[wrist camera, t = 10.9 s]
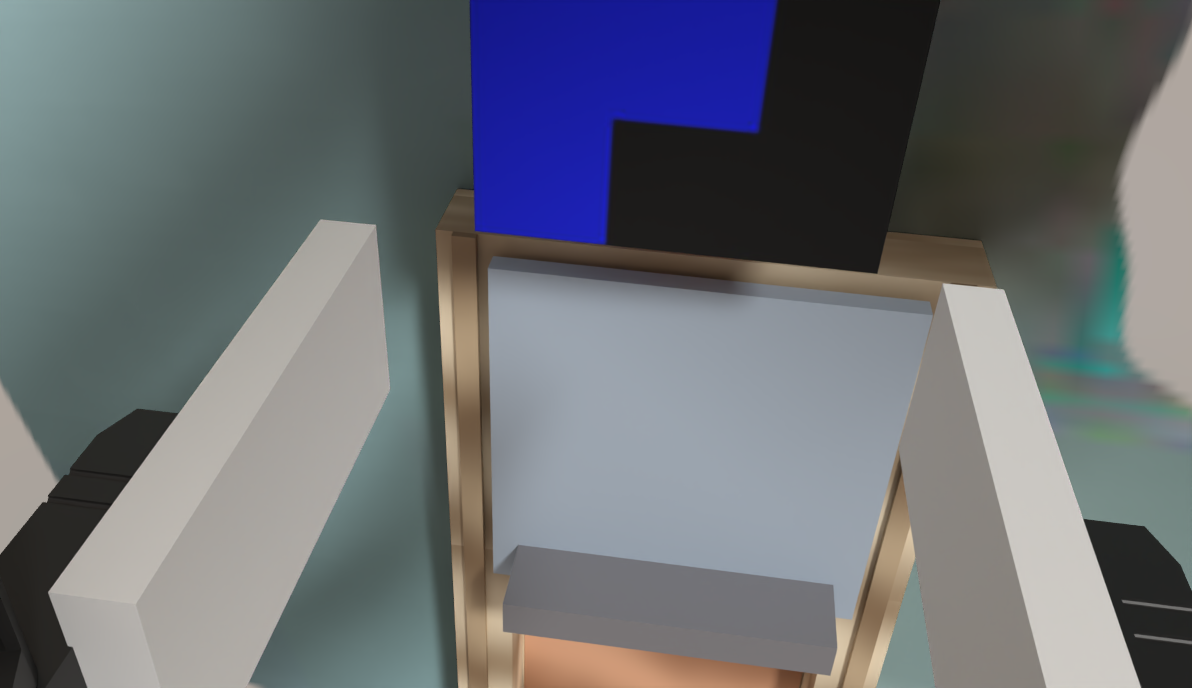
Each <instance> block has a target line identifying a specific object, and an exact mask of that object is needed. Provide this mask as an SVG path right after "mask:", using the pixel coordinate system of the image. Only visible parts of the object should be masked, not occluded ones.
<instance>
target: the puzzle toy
mask: <svg viewBox="0 0 1192 688" xmlns="http://www.w3.org/2000/svg"><path fill="white" fill-rule="evenodd" d="M939 4H940V0H470V40H471V85H472V130H473V175H474V219H475V231H478V232H488V233H497V234H506V235H516V236H525V237H535V238H544V239H554V240H563V241H572V242H582V243H591V244H601V245H610V246H620V247H629V248H638V249H648V250H657V251H667V252H676V253H685V254H695V255H704V256H714V257H723V258H733V259H742V260H751V261H761V262H770V263H780V264H789V265H799V266H808V267H817V268H827V269H836V270H846V271H855V272H865V273H874V274H878V269H879V265H880V261H881V256H882V252H883V248H884V243H885V239H886V235H887V230H888V226H889V222H890V217H891V213H892V209H893V204H894V200H895V195H896V191H897V187H898V182H899V178H900V174H901V169H902V165H903V161H904V156H905V152H906V148H907V143H908V139H909V135H910V130H911V126H912V121H913V117H914V113H915V108H916V104H917V100H918V95H919V91H920V87H921V82H922V78H923V74H924V69H925V65H926V61H927V56H928V52H929V47H930V43H931V39H932V34H933V30H934V26H935V21H936V17H937V13H938V8H939Z"/></svg>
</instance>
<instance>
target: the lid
mask: <svg viewBox="0 0 1192 688" xmlns="http://www.w3.org/2000/svg"><path fill="white" fill-rule="evenodd" d="M488 305H489V359H490V413H491V466H492V520H493V573H497V574H504V575H510V578H509V582H508V586H507V590H506V593H505V597H504V601H503V632H508V633H516V634H523V635H531V636H538V637H546V638H553V639H560V640H568V641H575V642H583V643H590V644H598V645H605V646H612V647H620V648H627V649H635V650H642V651H650V652H657V653H664V654H672V655H679V656H687V657H694V658H702V659H709V660H716V661H724V662H731V663H739V664H746V665H754V666H761V667H769V668H776V669H783V670H791V671H798V672H806V673H813V674H821V675H828V676H830V675H831V671H832V668H833V664H834V660H835V656H836V652H837V634H836V618H843V619H850V620H852V617H853V614H854V610H855V606H856V602H857V599H858V595H859V591H860V587H861V584H862V580H863V576H864V572H865V569H866V565H867V561H868V557H869V554H870V550H871V546H872V542H873V539H874V535H875V531H876V527H877V524H878V520H879V516H880V512H881V509H882V505H883V501H884V497H885V494H886V490H887V486H888V482H889V479H890V475H891V471H892V467H893V464H894V460H895V456H896V452H897V449H898V445H899V441H900V437H901V434H902V430H903V426H904V422H905V419H906V415H907V411H908V407H909V404H910V400H911V396H912V393H913V389H914V385H915V381H916V378H917V374H918V370H919V366H920V363H921V359H922V355H923V351H924V348H925V344H926V340H927V336H928V333H929V329H930V325H931V321H932V318H933V313H932V308H931V304H930V302H929V301H919V300H910V299H900V298H891V297H881V296H872V295H862V294H852V293H843V292H833V291H824V290H814V289H805V288H795V287H785V286H776V285H766V284H757V283H747V282H738V281H728V280H718V279H709V278H699V277H690V276H680V275H671V274H661V273H652V272H642V271H632V270H623V269H613V268H604V267H594V266H585V265H575V264H565V263H556V262H546V261H537V260H527V259H518V258H508V257H498V256H493V257H492V260H491V262H490V264H489V267H488Z"/></svg>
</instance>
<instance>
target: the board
mask: <svg viewBox="0 0 1192 688" xmlns="http://www.w3.org/2000/svg"><path fill="white" fill-rule="evenodd" d="M435 230H436V250H437V270H438V290H439V310H440V330H441V350H442V370H443V390H444V410H445V430H446V450H447V470H448V490H449V510H450V530H451V550H452V570H453V590H454V610H455V630H456V650H457V670H458V688H876V685H877V682H878V679H879V676H880V672H881V669H882V666H883V662H884V659H885V656H886V652H887V649H888V646H889V642H890V639H891V636H892V633H893V629H894V626H895V623H896V619H897V616H898V613H899V609H900V606H901V603H902V599H903V596H904V593H905V590H906V586H907V583H908V580H909V576H910V573H911V570H912V566H913V563H914V560H915V551H914V545H913V538H912V532H911V525H910V519H909V512H908V506H907V499H906V493H905V486H904V480H903V473H902V467H901V460H900V454H899V445H900V441H901V437H902V434H903V430H904V426H905V422H906V419H907V415H908V411H909V407H910V404H911V400H912V396H913V393H912V396H911V400H910V404H909V407H908V411H907V415H906V419H905V422H904V426H903V430H902V434H901V437H900V441H899V445H898V449H897V452H896V456H895V460H894V464H893V467H892V471H891V475H890V479H889V482H888V486H887V490H886V494H885V497H884V501H883V505H882V509H881V512H880V516H879V520H878V524H877V527H876V531H875V535H874V539H873V542H872V546H871V550H870V554H869V557H868V561H867V565H866V569H865V572H864V576H863V580H862V584H861V587H860V591H859V595H858V599H857V602H856V606H855V610H854V614H853V617H852V620H850V619H843V618H836V634H837V652H836V656H835V660H834V664H833V668H832V671H831V675H830V676H828V675H821V674H813V673H806V672H798V671H791V670H783V669H776V668H769V667H761V666H754V665H746V664H739V663H731V662H724V661H716V660H709V659H702V658H694V657H687V656H679V655H672V654H664V653H657V652H650V651H642V650H635V649H627V648H620V647H612V646H605V645H598V644H590V643H583V642H575V641H568V640H560V639H553V638H546V637H538V636H531V635H523V634H516V633H508V632H503V601H504V597H505V593H506V590H507V586H508V582H509V578H510V575H504V574H497V573H493V520H492V466H491V413H490V359H489V305H488V267H489V264H490V262H491V260H492V257H493V256H498V257H508V258H518V259H527V260H537V261H546V262H556V263H565V264H575V265H585V266H594V267H604V268H613V269H623V270H632V271H642V272H652V273H661V274H671V275H680V276H690V277H699V278H709V279H718V280H728V281H738V282H747V283H757V284H766V285H776V286H785V287H795V288H805V289H814V290H824V291H833V292H843V293H852V294H862V295H872V296H881V297H891V298H900V299H910V300H919V301H929V302H930V304H931V308H932V313H933V318H934V314H935V310H936V306H937V303H938V299H939V295H940V291H941V288H942V284H943V283H945V284H955V285H964V286H974V287H984V288H993V289H997V286H996V283H995V280H994V277H993V274H992V271H991V268H990V265H989V262H988V259H987V256H986V253H985V250H984V247H983V244H982V241H977V240H967V239H957V238H947V237H937V236H927V235H917V234H907V233H897V232H887V235H886V239H885V243H884V248H883V252H882V256H881V261H880V265H879V269H878V274H874V273H865V272H855V271H846V270H836V269H827V268H817V267H808V266H799V265H789V264H780V263H770V262H761V261H751V260H742V259H733V258H723V257H714V256H704V255H695V254H685V253H676V252H667V251H657V250H648V249H638V248H629V247H620V246H610V245H601V244H591V243H582V242H572V241H563V240H554V239H544V238H535V237H525V236H516V235H506V234H497V233H488V232H478V231H475V219H474V190H465V189H457V190H456V192H455V194H454V196H453V198H452V199H451V201H450V203H449V205H448V207H447V209H446V211H445V213H444V214H443V216H442V218H441V220H440V222H439V224H438V226H437V228H436V229H435ZM933 318H932V321H933ZM932 321H931V325H932ZM931 325H930V329H931ZM930 329H929V333H930ZM929 333H928V336H929ZM928 336H927V340H928ZM927 340H926V344H927ZM926 344H925V348H926ZM925 348H924V351H925ZM924 351H923V355H924ZM923 355H922V359H923ZM922 359H921V363H922ZM921 363H920V366H921ZM920 366H919V370H920ZM919 370H918V374H919ZM918 374H917V377H918ZM916 381H917V378H916ZM916 381H915V385H916ZM915 385H914V389H915ZM914 389H913V392H914Z"/></svg>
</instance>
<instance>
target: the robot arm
mask: <svg viewBox="0 0 1192 688" xmlns="http://www.w3.org/2000/svg"><path fill="white" fill-rule="evenodd" d="M389 391H390V380H389V369H388V357H387V345H386V334H385V322H384V311H383V299H382V288H381V276H380V265H379V253H378V242H377V230H376V225H370V224H361V223H351V222H341V221H331V220H322V219H320V221H319V222H318V223H317V225H316V226H315V228H314V229H313V230H312V232H311V233H310V234H309V236H308V237H307V239H306V240H305V241H304V243H303V244H302V245H301V247H300V248H299V249H298V251H297V252H296V254H295V255H294V256H293V258H292V259H291V260H290V262H289V263H288V265H287V266H286V267H285V269H284V270H283V271H282V273H281V274H280V275H279V277H278V278H277V280H276V281H275V282H274V284H273V285H272V286H271V288H270V289H269V291H268V292H267V293H266V295H265V296H264V297H263V299H262V300H261V301H260V303H259V304H258V306H257V307H256V308H255V310H254V311H253V312H252V314H251V315H250V317H249V318H248V319H247V321H246V322H245V323H244V325H243V326H242V328H241V329H240V330H239V332H238V333H237V334H236V336H235V337H234V338H233V340H232V341H231V343H230V344H229V345H228V347H227V348H226V349H225V351H224V352H223V354H222V355H221V356H220V358H219V359H218V360H217V362H216V363H215V364H214V366H213V367H212V369H211V370H210V371H209V373H208V374H207V375H206V377H205V378H204V380H203V381H202V382H201V384H200V385H199V386H198V388H197V389H196V390H195V392H194V393H193V395H192V396H191V397H190V399H189V400H188V401H187V403H186V404H185V406H184V407H183V408H182V410H181V411H180V412H179V414H178V413H170V412H162V411H153V410H145V409H136V410H135V411H133V412H132V413H130V414H129V415H127V416H125V417H124V418H122V419H121V420H119V421H118V422H116V423H115V424H113V425H112V426H110V427H109V428H107V429H106V430H104V431H103V432H101V433H100V434H98V435H97V436H96V437H95V438H94V439H93V441H92V442H91V443H90V444H89V446H88V447H87V448H86V449H85V451H84V452H83V453H82V454H81V455H80V457H79V458H78V459H77V460H76V462H75V463H74V464H73V465H72V467H71V468H70V474H69V475H64V476H63V478H62V479H61V480H60V481H59V483H58V484H57V485H56V486H55V488H54V489H53V490H52V491H51V493H50V494H49V495H48V497H49V498H48V501H47V503H45V502H43V503H42V504H41V505H40V506H39V507H38V509H37V510H36V511H35V512H34V514H33V515H32V516H31V517H30V518H29V520H28V521H27V522H26V524H25V525H24V526H23V527H22V528H21V530H20V531H19V532H18V533H17V535H16V536H15V537H14V538H13V539H12V541H11V542H10V543H9V545H8V546H7V547H6V548H5V549H4V551H3V552H2V553H1V554H0V688H246V687H247V685H248V683H249V681H250V679H251V677H252V675H253V672H254V670H255V668H256V666H257V664H258V662H259V660H260V658H261V656H262V654H263V652H264V650H265V648H266V646H267V643H268V641H269V639H270V637H271V635H272V633H273V631H274V629H275V627H276V625H277V623H278V621H279V619H280V617H281V614H282V612H283V610H284V608H285V606H286V604H287V602H288V600H289V598H290V596H291V594H292V592H293V590H294V588H295V585H296V583H297V581H298V579H299V577H300V575H301V573H302V571H303V569H304V567H305V565H306V563H307V561H308V559H309V556H310V554H311V552H312V550H313V548H314V546H315V544H316V542H317V540H318V538H319V536H320V534H321V532H322V530H323V528H324V525H325V523H326V521H327V519H328V517H329V515H330V513H331V511H332V509H333V507H334V505H335V503H336V501H337V499H338V496H339V494H340V492H341V490H342V488H343V486H344V484H345V482H346V480H347V478H348V476H349V474H350V472H351V470H352V467H353V465H354V463H355V461H356V459H357V457H358V455H359V453H360V451H361V449H362V447H363V445H364V443H365V441H366V438H367V436H368V434H369V432H370V430H371V428H372V426H373V424H374V422H375V420H376V418H377V416H378V414H379V412H380V409H381V407H382V405H383V403H384V401H385V399H386V397H387V395H388V393H389ZM899 454H900V460H901V467H902V473H903V480H904V486H905V493H906V499H907V506H908V512H909V519H910V525H911V532H912V538H913V545H914V551H915V558H916V564H917V571H918V577H919V584H920V590H921V597H922V603H923V610H924V616H925V623H926V629H927V636H928V642H929V649H930V655H931V661H932V668H933V674H934V681H935V687H936V688H1192V591H1191V588H1190V586H1189V584H1188V581H1187V579H1186V577H1185V574H1184V572H1183V570H1182V567H1181V565H1180V564H1179V563H1178V562H1177V561H1176V560H1175V559H1174V558H1173V557H1172V555H1171V554H1170V553H1169V552H1168V551H1167V550H1166V549H1165V548H1164V547H1163V546H1162V545H1161V544H1160V543H1159V541H1158V540H1157V539H1156V538H1155V537H1154V536H1153V535H1152V534H1151V533H1150V532H1149V531H1148V530H1147V529H1146V528H1145V526H1137V525H1128V524H1120V523H1112V522H1103V521H1095V520H1087V519H1083V518H1082V515H1081V512H1080V509H1079V506H1078V503H1077V500H1076V497H1075V494H1074V491H1073V489H1072V486H1071V483H1070V480H1069V477H1068V474H1067V471H1066V468H1065V465H1064V462H1063V459H1062V457H1061V454H1060V451H1059V448H1058V445H1057V442H1056V439H1055V436H1054V433H1053V430H1052V427H1051V425H1050V422H1049V419H1048V416H1047V413H1046V410H1045V407H1044V404H1043V401H1042V398H1041V395H1040V393H1039V390H1038V387H1037V384H1036V381H1035V378H1034V375H1033V372H1032V369H1031V366H1030V364H1029V361H1028V358H1027V355H1026V352H1025V349H1024V346H1023V343H1022V340H1021V337H1020V334H1019V332H1018V329H1017V326H1016V323H1015V320H1014V317H1013V314H1012V311H1011V308H1010V305H1009V302H1008V300H1007V297H1006V294H1005V291H1004V290H1003V289H993V288H984V287H974V286H964V285H955V284H945V283H943V284H942V288H941V291H940V295H939V299H938V303H937V306H936V310H935V314H934V318H933V321H932V325H931V329H930V333H929V336H928V340H927V344H926V348H925V351H924V355H923V359H922V363H921V366H920V370H919V374H918V377H917V381H916V385H915V389H914V392H913V396H912V400H911V404H910V407H909V411H908V415H907V419H906V422H905V426H904V430H903V434H902V437H901V441H900V445H899Z"/></svg>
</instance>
